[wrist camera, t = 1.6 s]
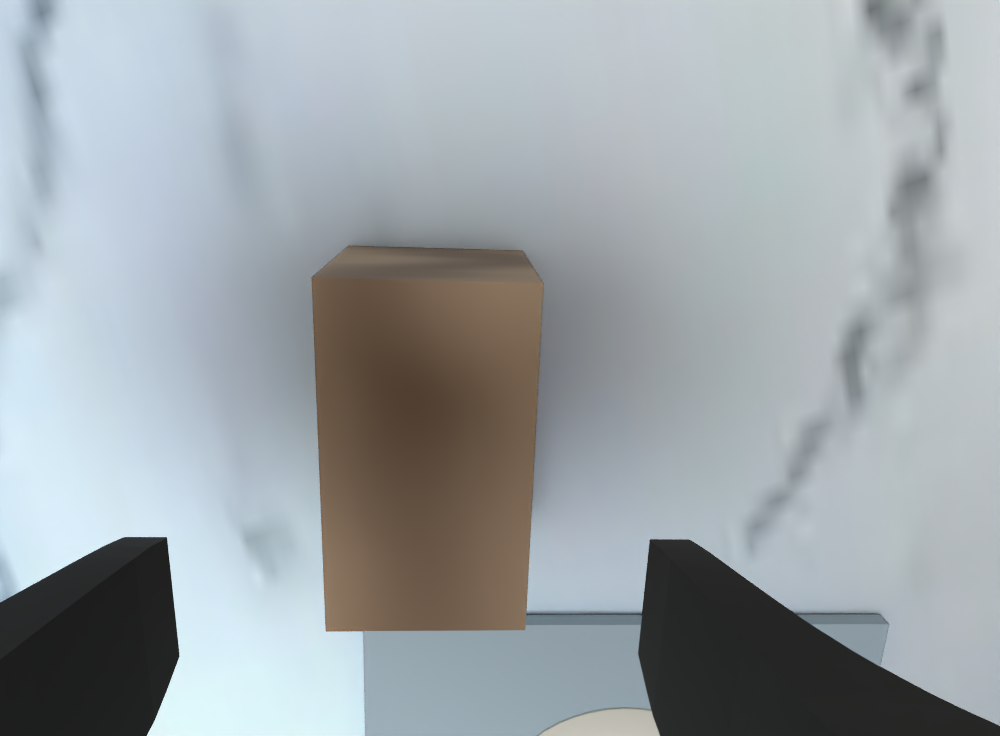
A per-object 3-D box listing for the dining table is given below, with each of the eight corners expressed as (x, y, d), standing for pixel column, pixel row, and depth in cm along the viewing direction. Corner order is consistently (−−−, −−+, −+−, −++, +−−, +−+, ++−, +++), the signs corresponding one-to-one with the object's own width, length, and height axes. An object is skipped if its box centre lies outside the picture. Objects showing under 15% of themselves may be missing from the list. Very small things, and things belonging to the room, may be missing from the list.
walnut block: (522, 249, 19) (543, 283, 14) (510, 522, 21) (524, 630, 17) (349, 245, 19) (311, 277, 14) (355, 522, 21) (325, 631, 16)
